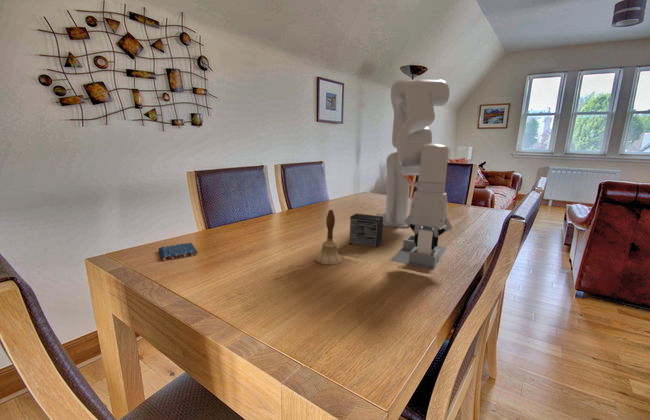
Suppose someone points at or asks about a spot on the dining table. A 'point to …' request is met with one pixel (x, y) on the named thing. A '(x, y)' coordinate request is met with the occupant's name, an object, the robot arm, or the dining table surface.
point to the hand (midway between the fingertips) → (425, 246)
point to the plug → (425, 240)
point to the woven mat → (177, 251)
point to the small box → (366, 229)
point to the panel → (418, 254)
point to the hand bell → (329, 245)
